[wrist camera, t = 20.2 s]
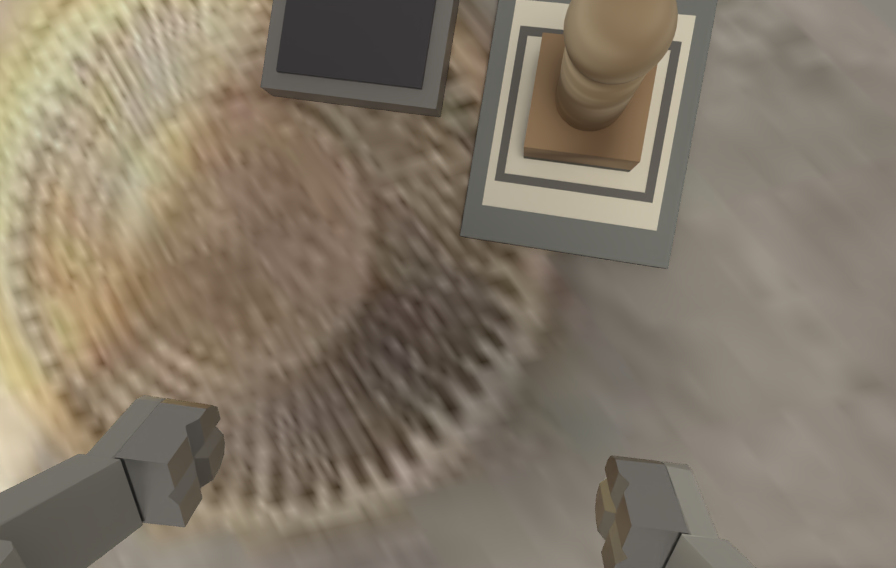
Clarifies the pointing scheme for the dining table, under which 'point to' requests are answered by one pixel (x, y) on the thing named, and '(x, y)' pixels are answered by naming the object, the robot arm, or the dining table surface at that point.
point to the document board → (572, 186)
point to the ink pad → (361, 52)
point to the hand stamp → (598, 83)
